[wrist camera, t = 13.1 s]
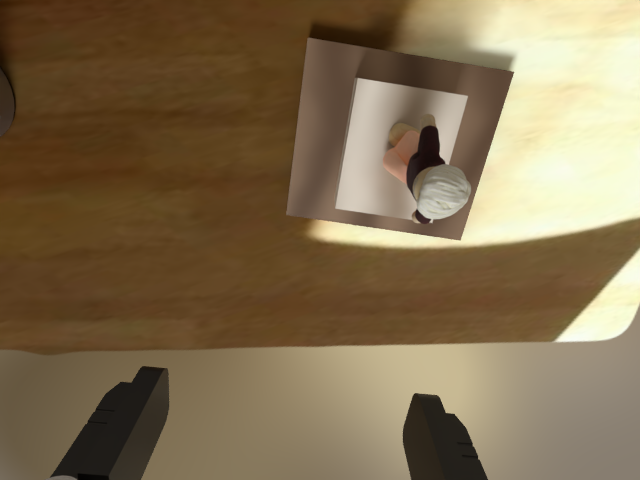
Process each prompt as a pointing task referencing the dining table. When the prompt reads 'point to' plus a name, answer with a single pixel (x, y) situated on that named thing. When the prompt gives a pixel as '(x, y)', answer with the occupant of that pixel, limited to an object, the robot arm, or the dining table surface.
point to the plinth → (333, 117)
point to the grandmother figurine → (426, 171)
